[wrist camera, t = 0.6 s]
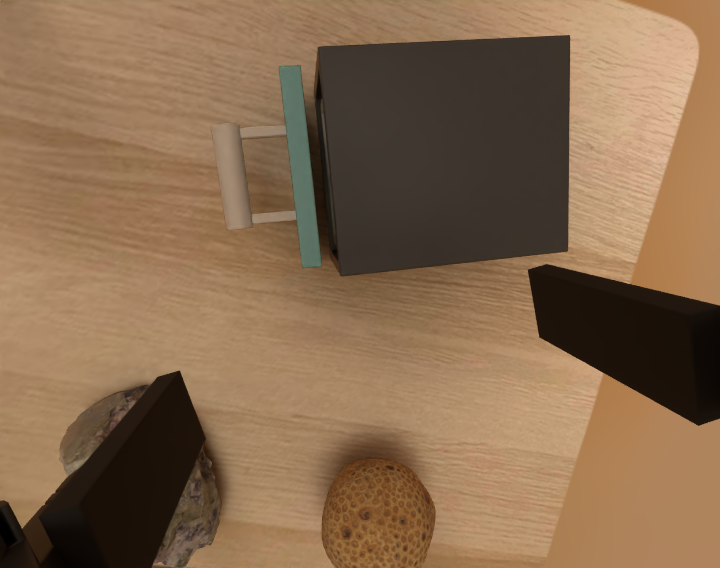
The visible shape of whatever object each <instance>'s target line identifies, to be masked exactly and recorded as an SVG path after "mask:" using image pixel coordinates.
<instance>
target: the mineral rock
mask: <svg viewBox="0 0 720 568" xmlns="http://www.w3.org/2000/svg"><path fill="white" fill-rule="evenodd" d="M149 387H150V386H147V385H145V386H142V387H139V388H136V389H133V390H130V391H123V392H119V393H115V394H113V395H111V396H109V397H106V398H104V399H102V400H101V401H99V402H97V403H96V404H94V405H93V406H91V407H90V408H88V409H87V410H86V411H84V412H83V413H81V414H80V415H79V416H78V418H77V420H76V421H75V422H74V423H72V424H71V425H70V426H69V427H68V429H67V432H66V434H65V435H64V437H63V439H62V441H61V444H60V458H59V460H60V461H61V462H62V463H63V465H64V469H65V471H66V473H67V476H69V475H71V474H72V473H73V472H74V471H76V470H77V469H78V468H79V467H81V466H82V465H83V464H84V463H85V462H86V460H87V459H88V458H89V457H90V456H91V454H92V453H93V452H94V451H95V450H96V449H97V447H98V446H99V445H100V444H101V443H102V442H103V440H104V439H105V438H106V437H107V436H108V435H109V433H110V432H111V431H112V430H113V429H114V428H115V426H116V425H117V424H118V423H119V422H120V421H121V419H122V418H123V417H124V416H125V415H126V413H127V412H128V411H129V410H130V409H131V408H132V406H133V405H134V404H135V403H136V402H137V401H138V399H139V398H140V397H141V396H142V395H143V394H144V392H145V391H146V390H147V389H148V388H149ZM203 445H204V444H203ZM211 466H212V462H211V461H210V460H209V459H208V458H207V457H206V456H205V454H204V450H203V446H202V449H201V451H200V453H199V456H198V458H197V460H196V463H195V465H194V468H193V470H192V472H191V475H190V477H189V479H188V482H187V484H186V487H185V489H184V491H183V494H182V496H181V498H180V501H179V503H178V506H177V508H176V510H175V513H174V515H173V517H172V520H171V522H170V525H169V527H168V529H167V532H166V534H165V536H164V539H163V541H162V544H161V546H160V548H159V551H158V553H157V555H156V558H155V560H154V563H156V564H157V563H158V562H162V563H163V564H164V565H169V566H171V567H173V568H183V567H185V566H186V565H187V563H188V561H189V560H190V558H191V556H192V555H193V553H194V552H195V551H196V550H197V549H199V548H202V547H204V546H206V545H211V544H212V542H213V540H214V537H215V534H216V531H217V527H218V525H219V515H220V512H219V511H220V508H221V498H220V495H219V493H218V491H217V486H216V483H215V475H214V474H213V472H212V471H211Z"/></svg>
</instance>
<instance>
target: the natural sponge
mask: <svg viewBox="0 0 720 568" xmlns="http://www.w3.org/2000/svg"><path fill="white" fill-rule="evenodd" d="M434 525H435V507H434V504H433V501H432V499H431V497H430V495H429V493H428V491H427V490H426V488H425V487H424V486H423V484H422V483H421V481H420V480H419V478H418V477H417V475H416V474H415V473H414V472H413V471H412V470H411V469H409V468H408V467H406V466H404V465H402V464H400V463H398V462H395V461H391V460H384V459H360V460H357V461H354V462H352V463H350V464H349V465H347V466H346V467H344V468H343V469H342V470H341V471H340V472H339V474H338V475H337V477H336V478H335V480H334V481H333V483H332V485H331V488H330V490H329V492H328V495H327V499H326V502H325V506H324V511H323V517H322V541H323V545H324V548H325V551H326V553H327V555H328V557H329V559H330V560H331V562H332V564H333V565H334V566H335V567H336V568H421V566H422V564H423V563H424V561H425V558H426V555H427V552H428V549H429V546H430V543H431V539H432V535H433V530H434Z"/></svg>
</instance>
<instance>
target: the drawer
mask: <svg viewBox="0 0 720 568" xmlns="http://www.w3.org/2000/svg"><path fill="white" fill-rule="evenodd" d="M279 74H280V82H281V91H282V99H283V108H284V116H285V125H273V126H258V127H243V128H240V126H239V125H238V124H234V123H221V124H215V125H212V126H211V130H212V136H213V143H214V150H215V156H216V163H217V170H218V176H219V183H220V190H221V196H222V203H223V210H224V216H225V223H226V229H227V230H235V229H245V228H252V227H253V224H260V223H271V222H282V221H292V220H297V227H298V236H299V245H300V253H301V262H302V268H312V267H321V266H322V262H321V253H320V243H319V234H318V225H317V215H316V206H315V197H314V187H313V178H312V169H311V160H310V150H309V141H308V132H307V122H306V113H305V104H304V94H303V85H302V76H301V66H300V65H293V66H279ZM321 116H322V126H323V136H324V146H325V156H326V166H327V176H328V186H329V196H330V206H331V216H332V225H333V235H334V243H335V245H336V234H335V224H334V214H333V204H332V194H331V184H330V174H329V164H328V154H327V144H326V134H325V124H324V114H323V104H322V100H321ZM286 136H287V142H288V151H289V159H290V168H291V176H292V185H293V193H294V202H295V210H292V211H281V212H270V213H259V214H252V213H251V206H250V199H249V191H248V184H247V177H246V170H245V162H244V155H243V148H242V141H241V139H243V140H245V139H259V138H274V137H286ZM336 246H337V245H336Z"/></svg>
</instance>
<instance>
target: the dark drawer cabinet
mask: <svg viewBox="0 0 720 568" xmlns="http://www.w3.org/2000/svg"><path fill="white" fill-rule="evenodd" d="M314 97H315V107H316V117H317V127H318V136H319V146H320V156H321V166H322V175H323V185H324V195H325V205H326V214H327V224H328V234H329V243H330V253H331V259H332V261H333V263H334V265H335V267H336V269H337V270H338V272H339V274H340V276H350V275H359V274H369V273H378V272H387V271H396V270H405V269H414V268H423V267H432V266H441V265H450V264H459V263H468V262H477V261H486V260H495V259H504V258H513V257H522V256H531V255H540V254H550V253H559V252H567V251H568V202H569V101H570V35H563V36H541V37H519V38H498V39H476V40H454V41H432V42H410V43H388V44H366V45H344V46H322V47H318V52H317V61H316V72H315V83H314ZM321 100H322V104H323V114H324V124H325V134H326V144H327V154H328V164H329V174H330V184H331V194H332V204H333V214H334V224H335V234H336V245H337V246H336V245H335V243H334V235H333V225H332V216H331V206H330V196H329V186H328V176H327V166H326V156H325V146H324V136H323V126H322V116H321Z"/></svg>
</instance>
